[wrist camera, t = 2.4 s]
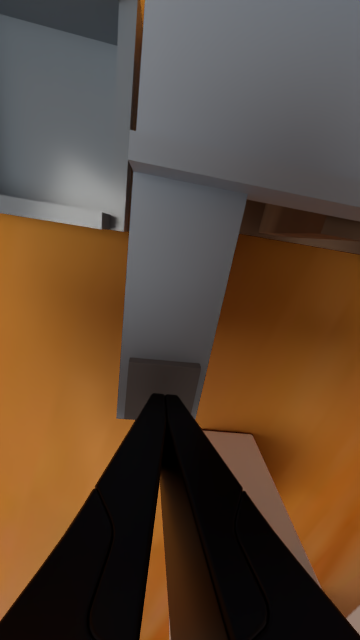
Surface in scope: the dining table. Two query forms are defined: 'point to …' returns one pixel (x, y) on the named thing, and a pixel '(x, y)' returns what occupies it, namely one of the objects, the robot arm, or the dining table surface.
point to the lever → (227, 163)
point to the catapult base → (300, 227)
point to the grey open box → (69, 109)
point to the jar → (259, 488)
